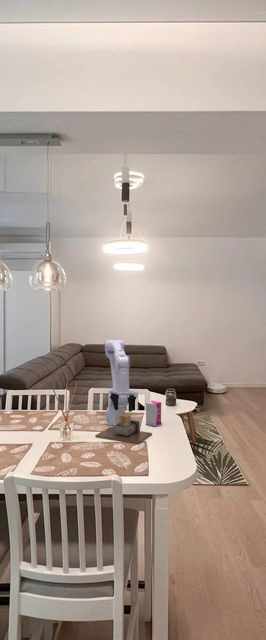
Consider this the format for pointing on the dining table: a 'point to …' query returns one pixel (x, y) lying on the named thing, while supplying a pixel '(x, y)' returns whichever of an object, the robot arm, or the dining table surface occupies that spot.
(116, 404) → the robot arm
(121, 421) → the brown rectangular block
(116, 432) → the bracket
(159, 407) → the supplement box
